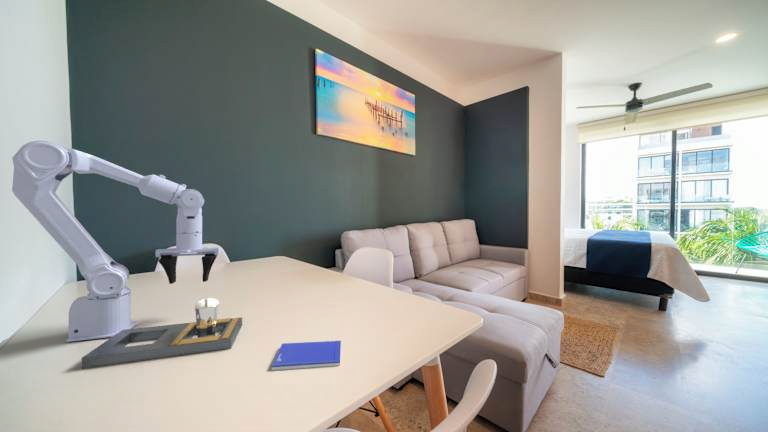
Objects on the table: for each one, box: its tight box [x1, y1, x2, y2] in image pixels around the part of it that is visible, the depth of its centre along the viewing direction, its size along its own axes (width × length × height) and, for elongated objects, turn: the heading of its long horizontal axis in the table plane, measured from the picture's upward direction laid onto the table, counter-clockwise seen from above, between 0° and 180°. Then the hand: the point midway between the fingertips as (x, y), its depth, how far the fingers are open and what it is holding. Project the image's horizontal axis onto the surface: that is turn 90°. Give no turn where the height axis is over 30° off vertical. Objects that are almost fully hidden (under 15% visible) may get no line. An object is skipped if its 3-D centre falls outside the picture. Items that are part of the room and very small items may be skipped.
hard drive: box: [271, 340, 342, 371], centre depth 53 cm, size 2×8×12 cm
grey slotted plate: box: [81, 317, 243, 370], centre depth 57 cm, size 24×12×2 cm, turn 109°
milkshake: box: [194, 297, 220, 338], centre depth 58 cm, size 4×5×10 cm
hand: (189, 281), depth 72 cm, fingers open, 7 cm apart
